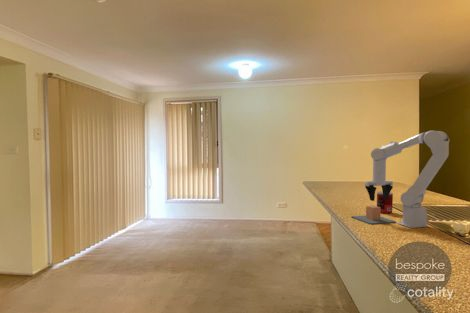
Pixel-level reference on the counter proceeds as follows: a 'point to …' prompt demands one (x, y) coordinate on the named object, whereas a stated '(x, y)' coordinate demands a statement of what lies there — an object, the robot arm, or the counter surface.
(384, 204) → the canned food
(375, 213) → the block
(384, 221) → the mat
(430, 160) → the robot arm
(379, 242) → the counter surface
